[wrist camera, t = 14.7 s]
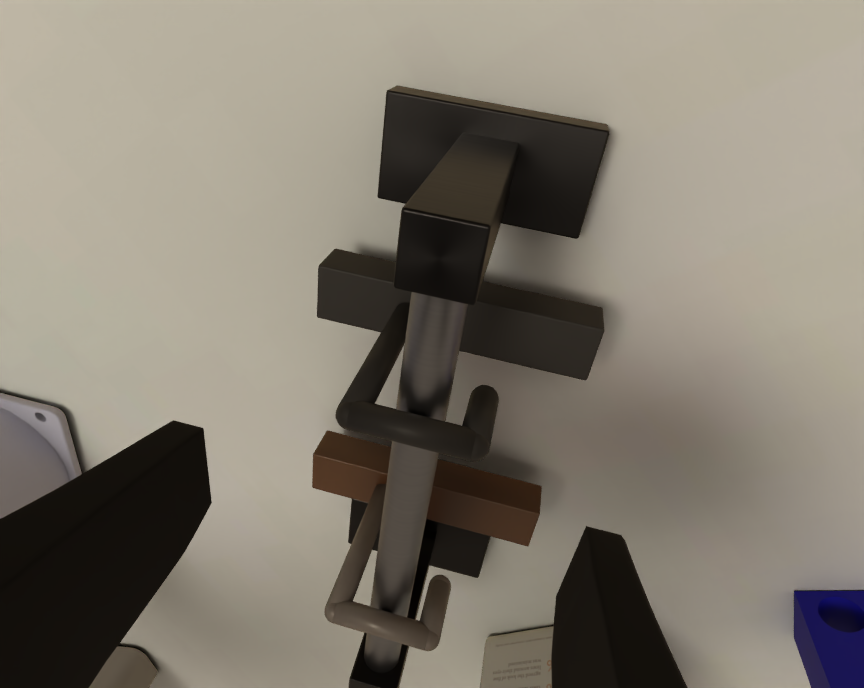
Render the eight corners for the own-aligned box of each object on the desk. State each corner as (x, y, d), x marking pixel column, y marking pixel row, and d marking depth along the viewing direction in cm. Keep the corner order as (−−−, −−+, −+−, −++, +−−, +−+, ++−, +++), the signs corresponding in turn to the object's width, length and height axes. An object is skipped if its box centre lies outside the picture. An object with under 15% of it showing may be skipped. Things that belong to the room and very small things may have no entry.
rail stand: (354, 526, 26) (285, 694, 20) (395, 85, 16) (280, 142, 10) (481, 560, 26) (451, 745, 19) (608, 124, 15) (635, 212, 9)
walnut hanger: (325, 463, 23) (244, 611, 17) (327, 429, 22) (241, 575, 16) (531, 517, 22) (514, 693, 16) (542, 485, 21) (529, 660, 15)
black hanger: (332, 297, 19) (229, 423, 13) (334, 247, 18) (224, 361, 12) (586, 356, 18) (590, 518, 12) (603, 306, 17) (616, 458, 11)
